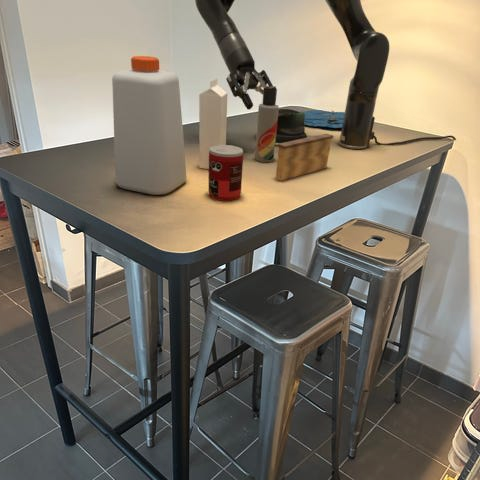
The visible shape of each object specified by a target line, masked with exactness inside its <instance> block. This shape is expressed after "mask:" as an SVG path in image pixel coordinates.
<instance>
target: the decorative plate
mask: <svg viewBox="0 0 480 480" xmlns="http://www.w3.org/2000/svg"><path fill="white" fill-rule="evenodd" d="M300 112H302V113H304V114H305V120H304V126H306V125H307V126H309V127H314V128H316V127H325V128H334V129H337V128H338V129H342V125H343V120H344V114H345V111H334V110H331V111H330V110H322V109H311V110H304V111H303V110H301V111H300Z"/></svg>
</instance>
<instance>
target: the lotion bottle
mask: <svg viewBox="0 0 480 480" xmlns="http://www.w3.org/2000/svg"><path fill="white" fill-rule="evenodd" d="M262 89H263V95H262V103H259V104H258V108H257V109H258V110H257V111H258V112H257V125H256V136H255V152H254V159H255V161H257V162H261V163H271V162H273V161H274V159H275V151H276V145H275V141H276V131H277V120H278V110H279V109H280V107H279V105H278V104H277V103H276V102H277V93H278V88H277V86H274V85H273V86H269V87H265V88H263V87H262Z"/></svg>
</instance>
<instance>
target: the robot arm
mask: <svg viewBox="0 0 480 480" xmlns="http://www.w3.org/2000/svg"><path fill="white" fill-rule="evenodd" d="M235 1H236V0H194V2H195V3H194V4H195V7H196V10H197V11H198V13H199V15H200V16H201V18H202V20H203V21H204V23H205V25H206V26H207V27H208V29H209V30H210V33H211V34H212V36H213V39H214V41H215V44H216V45H217V47H218V50H219V52H220V56H221V58H222V59H223V62H224V64H225V66H226V67H227V69H228V72H229V74H228V76H227V77H226V82H227V85H228V87H229V89H230V91H231V94H232V96H233V97H234V98H237V97H238V98H239V99H241V101H242V103H243V105H244V107H245V108H246V109H247V110H249V111H250V110H251V109H252V108H253V107H254V103H253V100H252V99H251V97H250V94H249V93H248V91H249V90H254V91H255V92H256V93H257V92H259V93H260V94H261V95H262V96H263V88H265V87H269V86H274V85H273V83H272V81H271V80H270V77H269V76H268V74H267V72H266V70H265V69H262V70H261V71H260V72H258V71H257V70H256V65H255V64H256V63H255V59H254V57H253V55H252V53H251V52H250V50H249V48H248V46H247V44H246V41H245V40H244V38H243V37H242V35H241V33H240V31H239V30H238V27H237V25H236V23H235V22H234V20H233V19H232V17H231V16H230V14H229V11H230V9H231V8H232V6H233V4H234V2H235ZM324 1H325V3H326V4H327V6H328V8H329V9H330V11H331V12H332V14H333V16H334V18H335V19H336V21H337V22H338V23H339V25H340V27H341V29H342V31H343V33H344V35H345V37H346V40H347V42H348V44H349V47H350V50H351V53H352V54H353V57H354V59H355V60H356V61H357V62H356V66H355V71H354V75H353V77H352V78H351V79H350V81H349V85H348V92H347V98H346V103H345V110H344V112H345V114H344V120H343V123H342V124H343V125H342V128H341V131H340V134H339V142H338V145H339V146H341V147H343V148H347V149H352V150H363V149H366V148H370V145H371V144H370V143H371V140H372V141H373V140H374V143H375V144H376V145H379V146H395V145H403V144H406V143H407V144H408V143H411V142H416V141H422V140H444V139H448V138H450V139H453V141H457V138H456V137H455V136H454V135H445V136H444V135H443V136H424V137H417V138H413V139H408V140H403V141H395V142H388V143H382V142H379V141H378V138H377V136H376V135H375V131H373V130H374V124H375V119H376V117H375V116H374V112H375V108H376V102H377V98H378V95H379V94H378V93H379V89H380V87H381V84H382V83H383V80H384V77H385V72H386V68H387V64H388V60H389V55H390V41H389V38H388V37H387V36H386V35H385V34H384V33H382V32H379V31H376V30H375V28H374V27H373V26H372V23H371V22H370V20H369V18H368V17H367V15H366V13H365V11H364V9H363V5H362V1H361V0H324Z"/></svg>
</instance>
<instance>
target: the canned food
mask: <svg viewBox="0 0 480 480" xmlns="http://www.w3.org/2000/svg"><path fill="white" fill-rule="evenodd" d="M243 166H244V149H243V148H241V147H239V146H235V145H230V144H229V145H228V144H226V145H216V146H212V147H210V148H209V169H208V194H209V196H210V198H212V199H214V200H218V201H224V202H225V201H226V202H227V201H235V200H238V199H239V198H240V197H241V195H242V180H243Z"/></svg>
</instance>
